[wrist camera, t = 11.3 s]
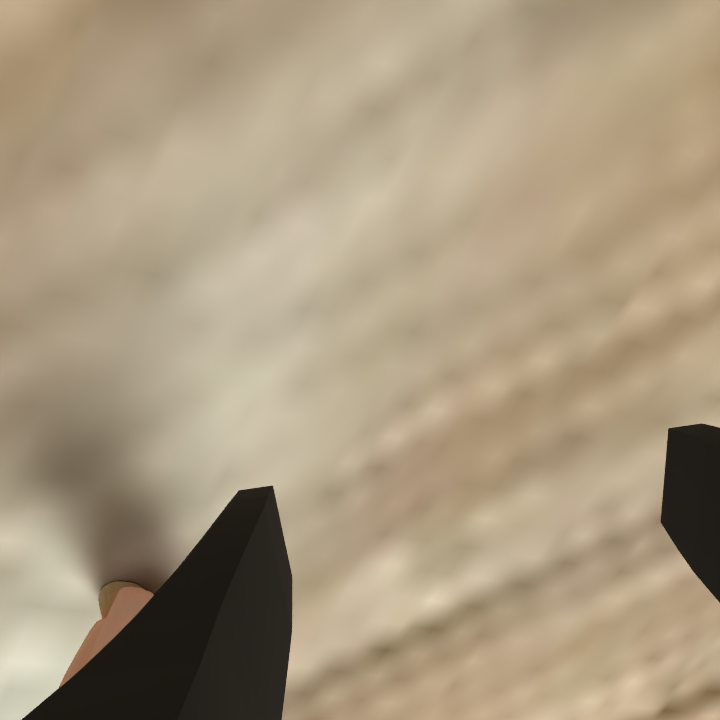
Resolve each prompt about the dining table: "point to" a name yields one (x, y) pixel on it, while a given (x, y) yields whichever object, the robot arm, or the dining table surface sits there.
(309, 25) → the dining table surface
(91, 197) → the dining table surface
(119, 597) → the grandmother figurine
